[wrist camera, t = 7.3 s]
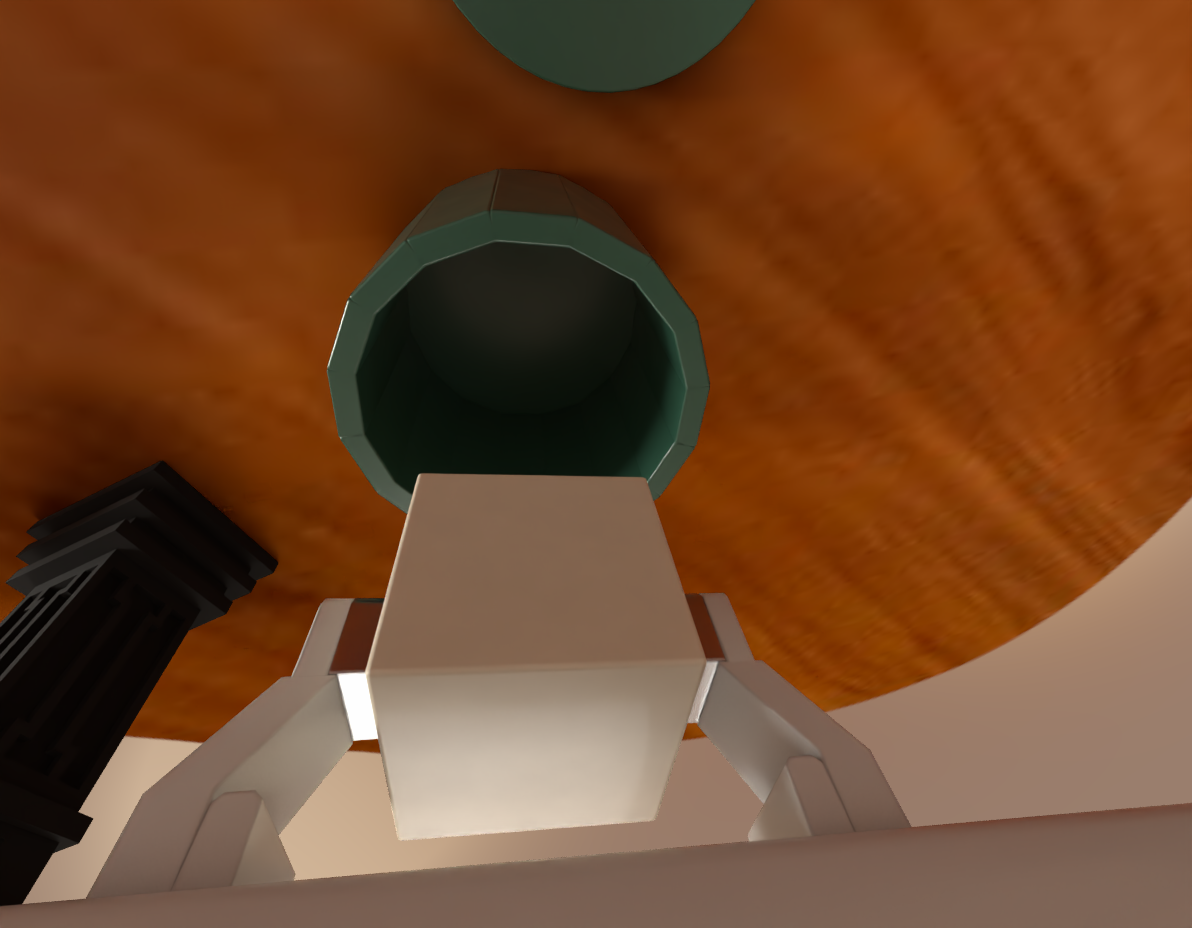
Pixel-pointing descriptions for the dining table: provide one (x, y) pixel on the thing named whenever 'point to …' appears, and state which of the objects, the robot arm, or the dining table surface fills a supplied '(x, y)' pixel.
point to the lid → (604, 37)
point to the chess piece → (100, 645)
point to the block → (531, 656)
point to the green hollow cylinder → (517, 344)
